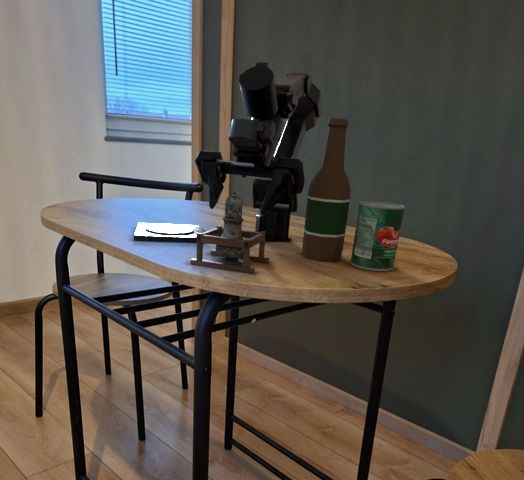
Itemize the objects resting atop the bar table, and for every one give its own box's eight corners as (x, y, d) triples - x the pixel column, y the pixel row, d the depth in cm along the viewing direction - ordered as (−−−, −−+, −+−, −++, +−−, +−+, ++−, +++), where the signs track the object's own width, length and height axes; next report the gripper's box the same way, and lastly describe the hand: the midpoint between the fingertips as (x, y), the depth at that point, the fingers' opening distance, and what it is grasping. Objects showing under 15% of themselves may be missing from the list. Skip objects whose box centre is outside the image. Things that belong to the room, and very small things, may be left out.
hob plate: (201, 229, 107) (201, 224, 107) (205, 242, 95) (205, 236, 94) (138, 227, 105) (137, 221, 104) (133, 240, 92) (133, 233, 92)
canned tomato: (354, 258, 92) (363, 199, 87) (395, 264, 89) (407, 204, 85) (346, 266, 85) (355, 203, 80) (390, 273, 82) (402, 209, 78)
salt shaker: (209, 259, 83) (211, 187, 78) (240, 258, 85) (244, 188, 80) (221, 268, 78) (223, 191, 73) (253, 266, 80) (258, 192, 75)
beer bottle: (343, 255, 93) (362, 121, 84) (338, 263, 86) (359, 118, 77) (305, 250, 95) (319, 118, 85) (297, 258, 88) (312, 115, 78)
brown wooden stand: (212, 253, 87) (213, 224, 85) (269, 261, 84) (271, 232, 82) (190, 264, 79) (190, 232, 77) (252, 273, 76) (254, 241, 74)
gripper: (200, 98, 79) (169, 170, 74) (308, 104, 75) (283, 181, 69) (217, 149, 89) (190, 215, 84) (313, 157, 85) (291, 228, 79)
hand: (236, 210), depth 79 cm, fingers open, 9 cm apart
